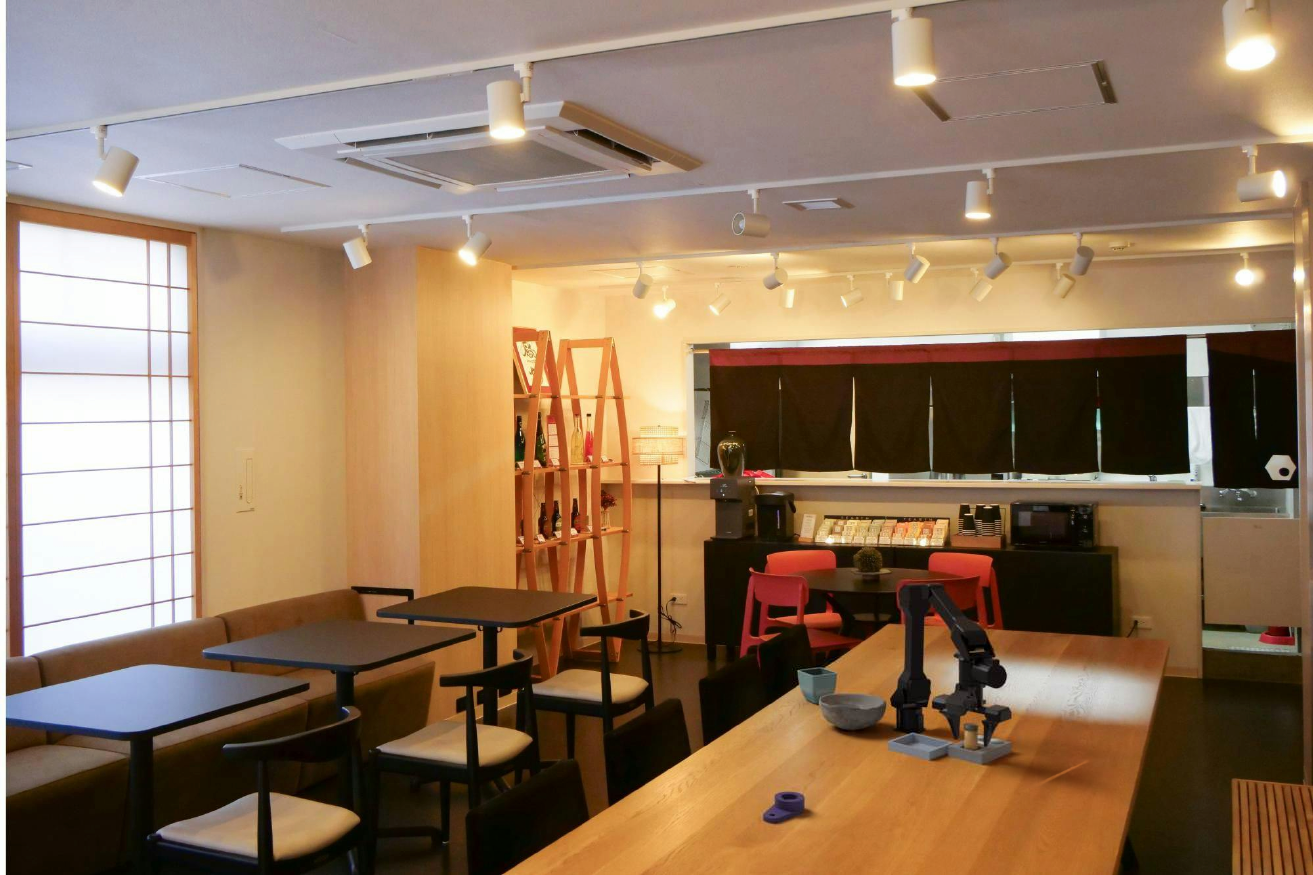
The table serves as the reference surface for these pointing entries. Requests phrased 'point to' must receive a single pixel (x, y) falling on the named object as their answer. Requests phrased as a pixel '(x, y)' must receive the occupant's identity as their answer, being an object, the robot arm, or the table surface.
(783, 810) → the lever
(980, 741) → the panel
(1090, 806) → the table surface
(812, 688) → the flower pot
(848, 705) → the bowl
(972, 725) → the cylinder
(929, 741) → the parts tray
